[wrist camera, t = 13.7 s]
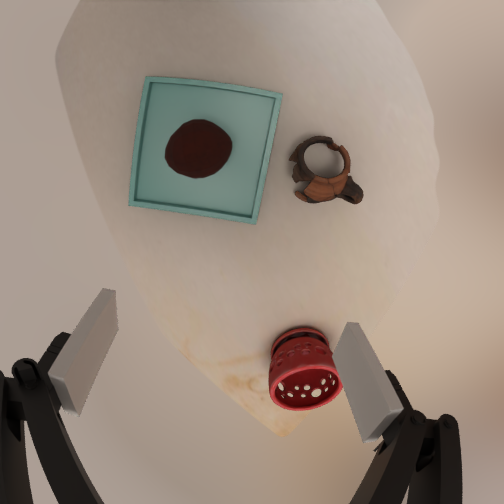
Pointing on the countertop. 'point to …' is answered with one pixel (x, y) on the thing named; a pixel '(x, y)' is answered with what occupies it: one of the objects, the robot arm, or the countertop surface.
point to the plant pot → (302, 370)
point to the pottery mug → (325, 187)
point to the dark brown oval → (198, 149)
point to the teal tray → (225, 116)
